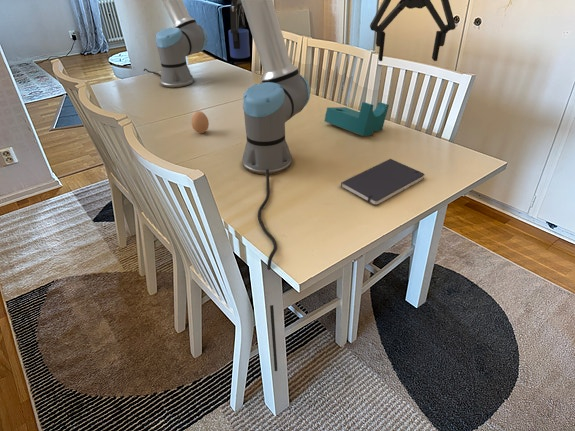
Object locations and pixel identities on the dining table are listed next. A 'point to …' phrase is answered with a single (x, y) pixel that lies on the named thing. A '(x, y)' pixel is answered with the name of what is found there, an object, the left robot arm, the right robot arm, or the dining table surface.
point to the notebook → (382, 181)
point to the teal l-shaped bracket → (358, 118)
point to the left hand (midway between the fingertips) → (239, 45)
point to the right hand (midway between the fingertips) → (407, 59)
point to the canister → (244, 44)
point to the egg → (199, 122)
